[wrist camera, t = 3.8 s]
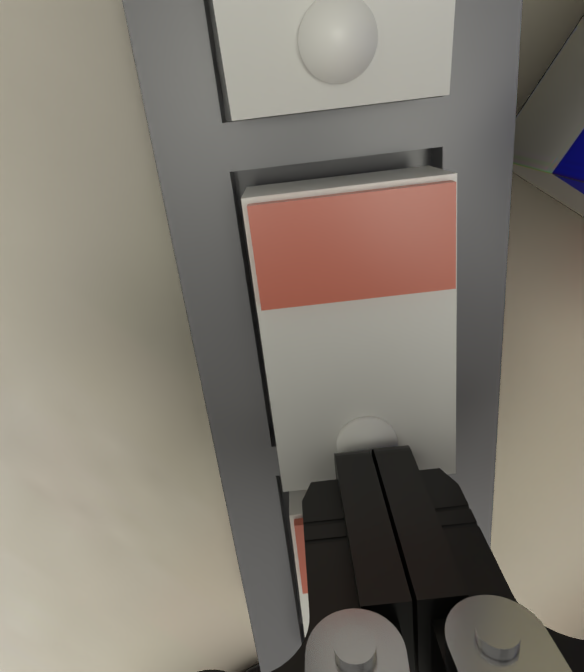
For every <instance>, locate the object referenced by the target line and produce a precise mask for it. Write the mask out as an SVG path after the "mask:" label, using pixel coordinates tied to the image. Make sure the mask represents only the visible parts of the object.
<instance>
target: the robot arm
mask: <svg viewBox="0 0 584 672" xmlns="http://www.w3.org/2000/svg"><path fill="white" fill-rule="evenodd" d="M334 462H335V473H336V479H335V480H326V481H317V482H311V483H310V485H309V487H308V490H307V492H306V494H305V496H304V498H303V500H302V512H303V525H304V541H305V557H306V572H307V586H308V601H309V627H308V631H307V634H306V637H305V639H304V641H303V643H302V645H301V647H300V648H299V649H298V650H297V652H296V653H295V654H294V655H293V656H292V657H291V658H290V659H289V660H288V661H287V662H286V663H284V664H283V665H282V666H280V667H278V668H276V669H275V670H273V671H271V672H584V640H580V639H576V638H572V637H568V636H565V635H562V634H560V633H557V632H555V631H553V630H551V629H549V628H547V627H545V626H544V625H543V624H542V622H541V621H540V620H539V619H538V618H537V617H536V616H535V615H534V614H533V613H532V612H530V611H529V610H528V609H527V608H525V607H524V606H522V605H520V604H519V603H518V602H517V601H516V599H515V598H514V596H513V594H512V592H511V590H510V588H509V586H508V584H507V582H506V580H505V578H504V576H503V574H502V572H501V570H500V568H499V566H498V564H497V562H496V560H495V557H494V555H493V553H492V551H491V549H490V547H489V545H488V543H487V541H486V539H485V537H484V535H483V533H482V531H481V529H480V527H479V526H478V525H477V521H476V519H475V517H474V515H473V512H472V510H471V509H469V504H468V502H467V500H466V498H465V496H464V494H463V492H462V490H461V488H460V486H459V484H458V483H457V482H456V481H454V480H453V479H452V478H451V477H450V476H448V475H447V474H446V473H445V472H444V471H443V470H441V469H440V468H435V469H425V470H419V468H418V466H417V463H416V461H415V458H414V456H413V453H412V451H411V448H410V447H409V445H405V446H396V447H387V448H378V449H372V455H371V452H370V450H361V451H352V452H343V453H334ZM199 672H225V671H221V670H204V671H199Z"/></svg>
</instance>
